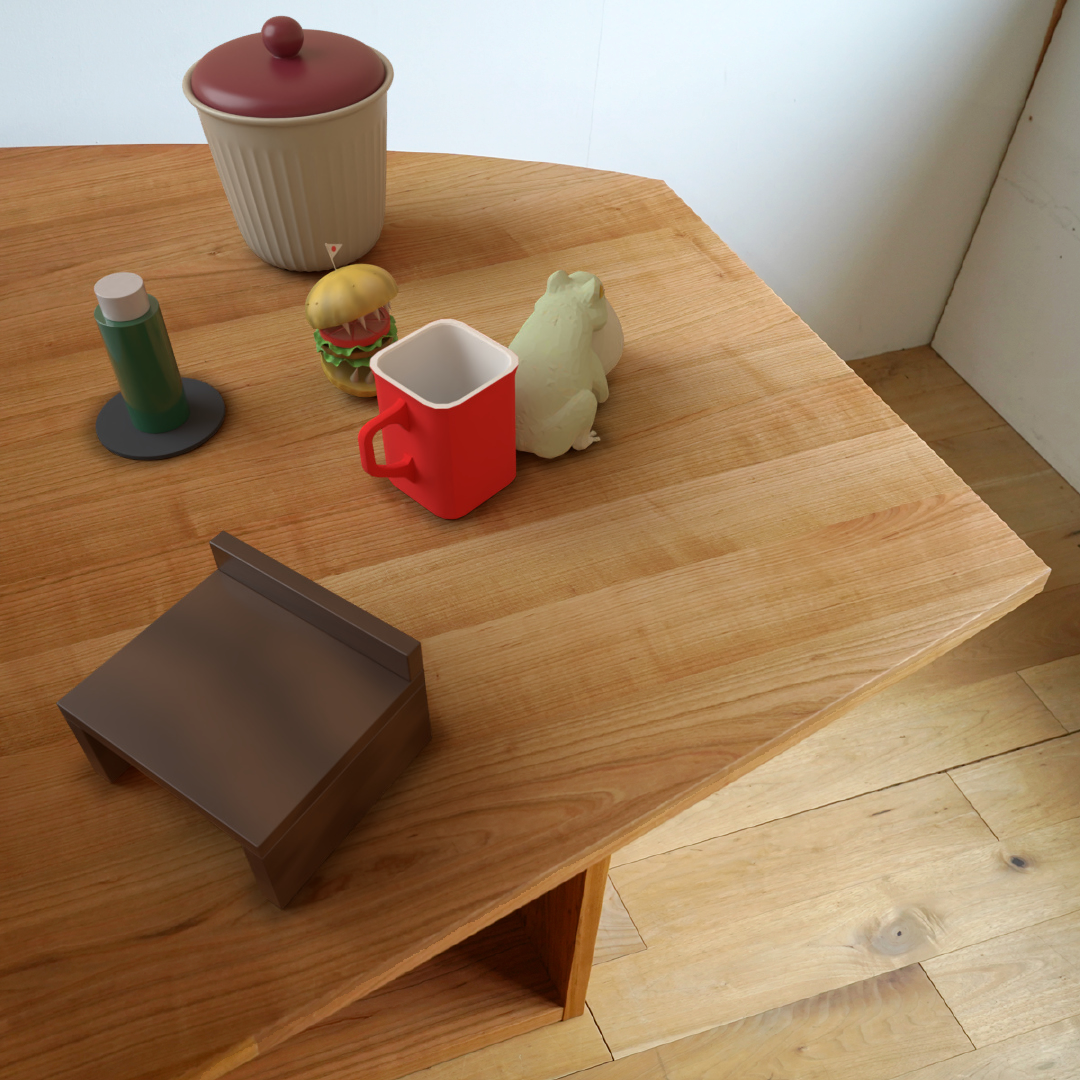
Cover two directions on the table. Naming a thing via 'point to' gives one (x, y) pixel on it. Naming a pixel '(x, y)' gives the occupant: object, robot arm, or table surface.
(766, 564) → the table surface
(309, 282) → the table surface
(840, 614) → the table surface
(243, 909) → the table surface
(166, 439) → the coaster
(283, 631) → the shelf
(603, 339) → the figurine
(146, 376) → the bottle
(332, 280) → the hamburger
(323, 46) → the canister
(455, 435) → the mug
